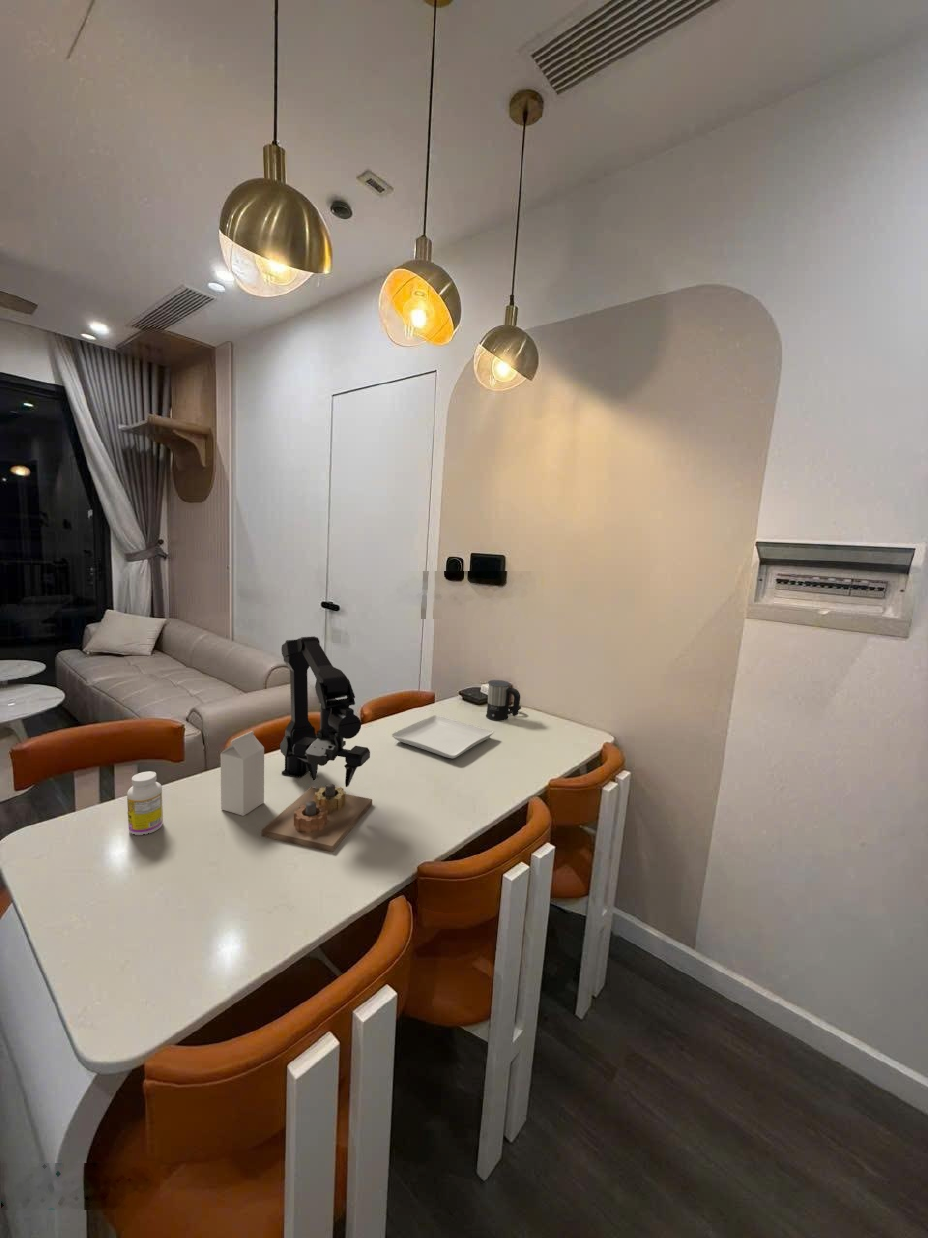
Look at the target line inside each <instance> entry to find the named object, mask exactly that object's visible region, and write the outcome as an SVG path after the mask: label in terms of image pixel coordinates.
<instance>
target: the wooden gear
mask: <svg viewBox="0 0 928 1238" xmlns="http://www.w3.org/2000/svg"><path fill="white" fill-rule="evenodd" d="M318 789H319V791H318V792H315V797H314V802H316V805H324V806H326V810H328V812H331V811H333V810H340V809H341V808H342V805H345V800H346V794H347V792H346V791H344V787H342V786H340V787H337V786H335V796H334V797H330V798H329V797H325V787H320V788H318Z"/></svg>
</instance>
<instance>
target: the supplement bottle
mask: <svg viewBox="0 0 928 1238" xmlns="http://www.w3.org/2000/svg"><path fill="white" fill-rule="evenodd" d="M131 785H132V786H131V787H130V788H129V789H128V790H127V793H126V800H127V801H126V802H127V823H128V825H127V826H128V832H129V833H130V834H131V833H132V834H131V835H133V834H135V835H134V836H144V835H143V834H145V835H149V834H152V833H154V832H156V831H157V830H159V829H161V827H162V826H163V822H164V812H163V811H164V810H163V807H164V806H163V787H162V784H161V783H160V782H158V781H157V773H156V772H155V771H149V770H148V771H142V772H139V773H136V774H134V775H133V776H132V777H131ZM148 833H149V834H148Z"/></svg>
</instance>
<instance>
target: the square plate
mask: <svg viewBox="0 0 928 1238" xmlns="http://www.w3.org/2000/svg"><path fill="white" fill-rule="evenodd" d="M494 734H495V731H493V730H490V729H488V728H483V727H480V726H477V725H474V724H471V723H467V722H464V721H461V720H456V719H453V718H449V717H445V716H442V715H441V716H440V715H437V714H435V715H432V716H429V717H427V718H423V719H421V720H419V721H417V722H414V723H412V724H410V725H408V726H406V727H405V726H404V727H402V728H401V729H399V730H397V731H395V732H393V733H391V734H390V736H391V737H392V738H393V739H395V740H396V741H398V742H400V743H403V744H406V745H410V746H412V747H415V748H418V749H421V750H423V751H427V752H430V753H433V754H436V755H438V756H441V757H444V758H449V759H455V758H458V757H459V756H461V755H462V754H463V753H465V752H467V751H468V750H470V749H471V748H473V747H476V746H477V745H479V744H480V743H482V742H484V741H486V740H488V739H489V738H490V737H492V735H494Z"/></svg>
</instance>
